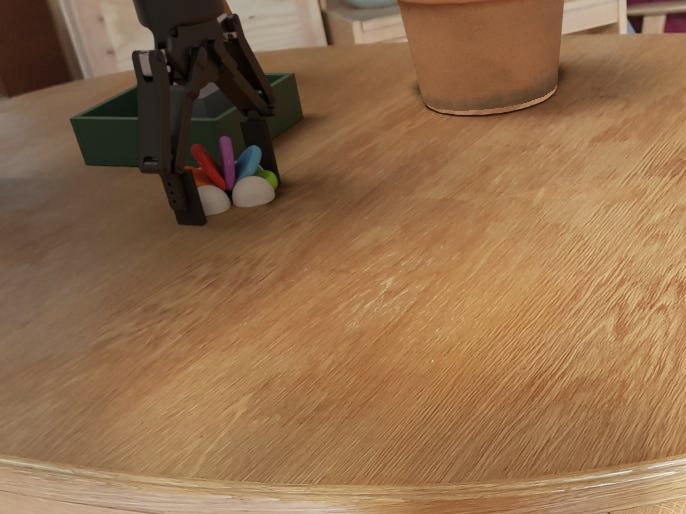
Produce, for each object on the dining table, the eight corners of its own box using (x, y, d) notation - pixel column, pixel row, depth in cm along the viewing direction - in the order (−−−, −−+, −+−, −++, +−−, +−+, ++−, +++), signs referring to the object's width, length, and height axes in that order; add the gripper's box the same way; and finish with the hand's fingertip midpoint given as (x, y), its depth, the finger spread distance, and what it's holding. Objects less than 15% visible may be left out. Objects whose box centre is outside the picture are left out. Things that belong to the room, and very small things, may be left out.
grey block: (149, 141, 112) (136, 97, 109) (178, 124, 116) (166, 82, 113) (214, 142, 109) (202, 98, 106) (241, 125, 114) (230, 82, 111)
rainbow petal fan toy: (181, 208, 96) (160, 135, 91) (276, 188, 98) (259, 116, 93) (187, 238, 89) (164, 162, 85) (289, 217, 91) (271, 141, 87)
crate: (85, 164, 110) (68, 118, 107) (170, 116, 123) (158, 73, 120) (230, 169, 104) (217, 120, 101) (303, 117, 117) (294, 72, 113)
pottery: (550, 125, 105) (543, -18, 97) (372, 122, 112) (351, -12, 104) (598, 69, 121) (596, -58, 112) (440, 70, 128) (426, -50, 119)
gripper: (118, 3, 70) (198, 268, 83) (279, -60, 88) (324, 165, 101) (38, 6, 72) (127, 263, 85) (211, -56, 91) (263, 164, 104)
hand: (234, 210), depth 93 cm, fingers open, 13 cm apart
